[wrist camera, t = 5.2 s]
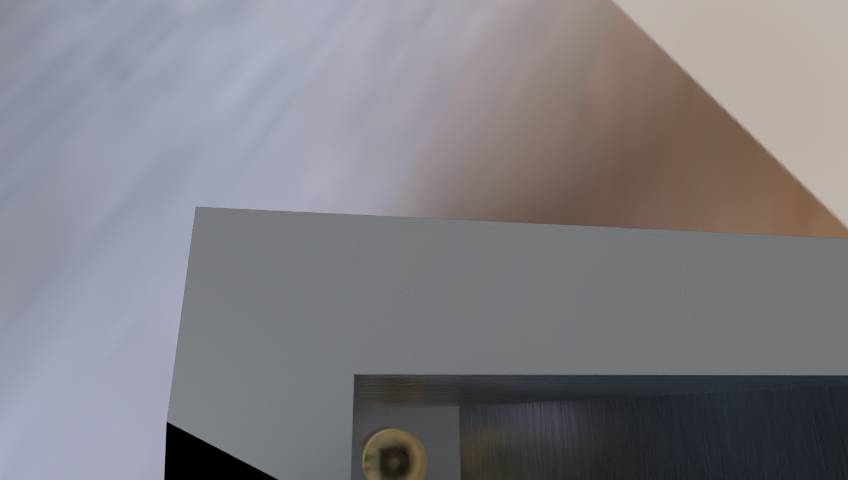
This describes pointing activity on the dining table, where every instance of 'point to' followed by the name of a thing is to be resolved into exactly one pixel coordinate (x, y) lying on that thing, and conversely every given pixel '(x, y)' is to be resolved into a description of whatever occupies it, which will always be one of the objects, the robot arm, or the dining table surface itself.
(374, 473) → the disc
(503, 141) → the dining table surface
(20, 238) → the dining table surface
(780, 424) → the square pipe section
